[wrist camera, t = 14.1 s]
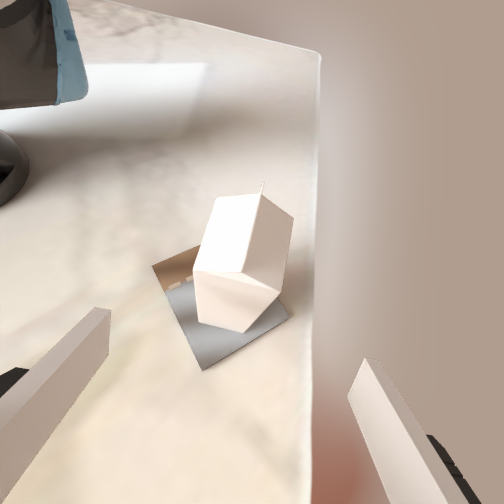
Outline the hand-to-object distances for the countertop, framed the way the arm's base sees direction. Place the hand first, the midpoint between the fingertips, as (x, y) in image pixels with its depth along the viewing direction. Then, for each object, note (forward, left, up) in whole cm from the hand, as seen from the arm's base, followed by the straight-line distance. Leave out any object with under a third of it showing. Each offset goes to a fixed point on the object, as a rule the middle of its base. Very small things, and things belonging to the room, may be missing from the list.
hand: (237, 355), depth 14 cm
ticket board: (-8, +5, -22) cm, 24 cm away
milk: (-6, +4, -21) cm, 22 cm away
